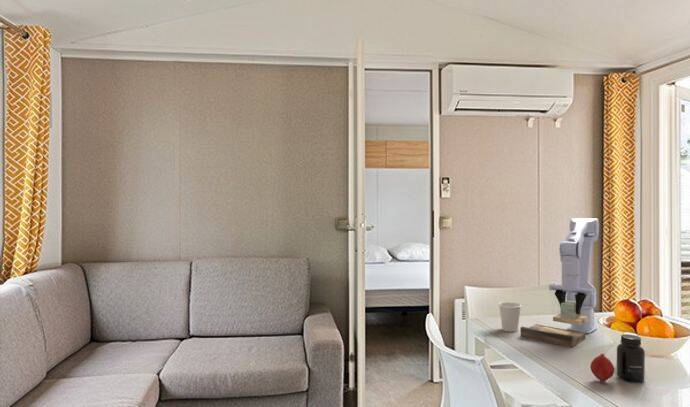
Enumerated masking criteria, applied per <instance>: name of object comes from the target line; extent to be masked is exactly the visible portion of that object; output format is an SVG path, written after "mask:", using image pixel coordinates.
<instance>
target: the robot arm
mask: <svg viewBox="0 0 690 407" xmlns="http://www.w3.org/2000/svg"><path fill="white" fill-rule="evenodd" d="M569 231H570V232H569V233H568V234H567V236H566V238H565V240H563V241H562V242H560V244H559V256H560V262H561V284H555V283H551V284H549V285H548V290H549V291H555V292H554V295H555V297H556V299H557V301H558V304H559V307H560V308H561V303H563V302H565V301H567V300H570V301H576V314H580V311H581V315H583V316H588V321H587V322H585V323H583V324H582V325H574V324H570V326H569V327H567V329H566V330H570V331H576V332H581V333H585V334H591V333H592V332H594V331H596V330H598V327H595V311H594V308H595V307H596V306H597V300H598V299H597V289H596V287H595V286H594V285H592V284H591V283H590V273H591V272H590V270H591V259H592V258H591V256H592V248H593V245H594V242H597V241H598V239H599V236H600V234H599V233H600V232H599V231H600V221H599V219H598V218H596V217H595V218H592V217H591V218H583V217H580V218H579V217H578V218H577V217H572V218H571V219H570V220H569Z"/></svg>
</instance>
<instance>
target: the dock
mask: <svg viewBox="0 0 690 407" xmlns="http://www.w3.org/2000/svg"><path fill="white" fill-rule="evenodd" d="M519 329H520V331H519V332H520V337H521V338H525V339H529V340H535V341H539V342H545V343H549V344H554V345H556V346H557V345H558V346H562V347H567V348H573V347H575V346H576V345H578V344H580V343H582V342H583V341H584V340H586V333H583V332H578V331H572V330H568V329H565V328H560V327H559V328H558V327H554V326H549V325H548V326H547V325H543V324H538V323H536V324H534V325H532V326H526V327H525V326H520V328H519Z"/></svg>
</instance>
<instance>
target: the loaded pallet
mask: <svg viewBox="0 0 690 407" xmlns="http://www.w3.org/2000/svg"><path fill="white" fill-rule="evenodd" d="M552 321H553V322H556V323H557V322H558V323H562V324H563V323H564V324H569V325H571V324H574V325H582V324H583V323H585V322H587V321H588V316H583V315H581V311H580V314H576V301H570V300H565V302H563V303H561V307H560V313H558V314H555V315H554V316H552Z"/></svg>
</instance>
